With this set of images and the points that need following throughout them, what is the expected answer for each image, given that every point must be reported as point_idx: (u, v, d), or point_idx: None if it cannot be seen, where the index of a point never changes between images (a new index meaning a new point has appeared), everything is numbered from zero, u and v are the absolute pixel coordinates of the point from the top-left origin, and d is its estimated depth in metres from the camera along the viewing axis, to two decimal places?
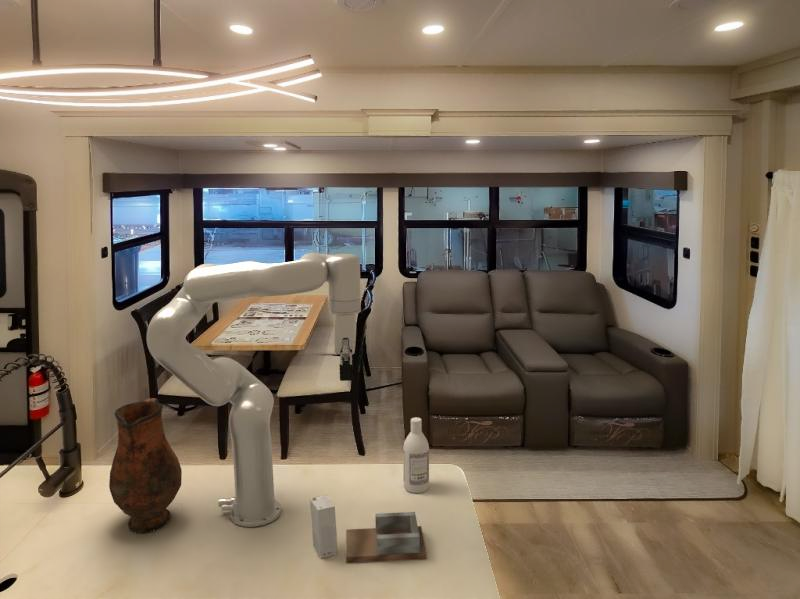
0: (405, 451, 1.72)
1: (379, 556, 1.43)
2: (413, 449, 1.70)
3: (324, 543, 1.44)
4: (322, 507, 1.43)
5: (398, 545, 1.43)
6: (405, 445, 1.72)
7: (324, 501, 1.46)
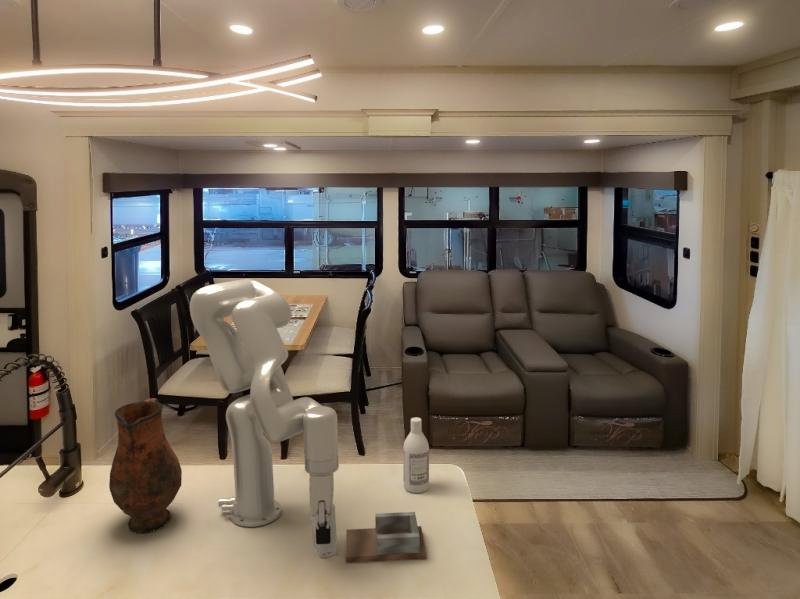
0: (405, 451, 1.72)
1: (379, 556, 1.43)
2: (413, 449, 1.70)
3: None
4: None
5: (398, 545, 1.43)
6: (405, 445, 1.72)
7: None
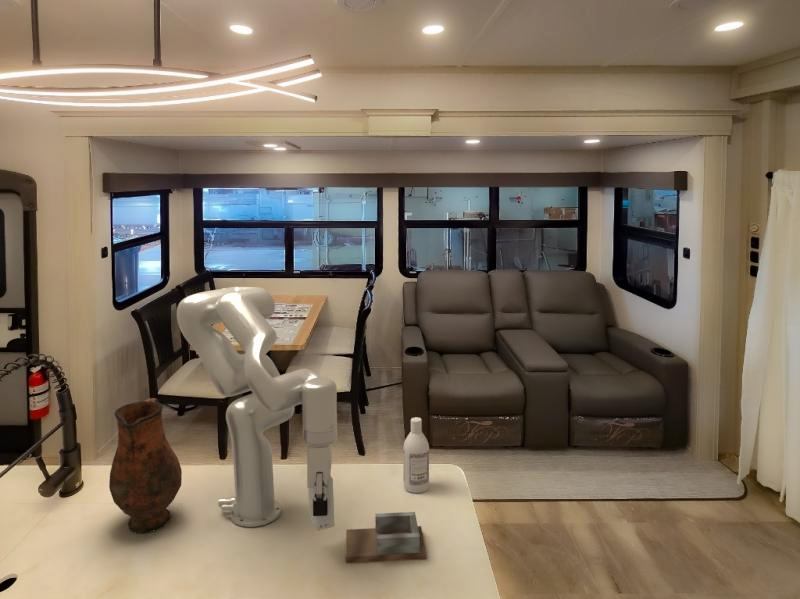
0: (405, 451, 1.72)
1: (379, 556, 1.43)
2: (413, 449, 1.70)
3: None
4: None
5: (398, 545, 1.43)
6: (405, 445, 1.72)
7: (322, 474, 1.44)
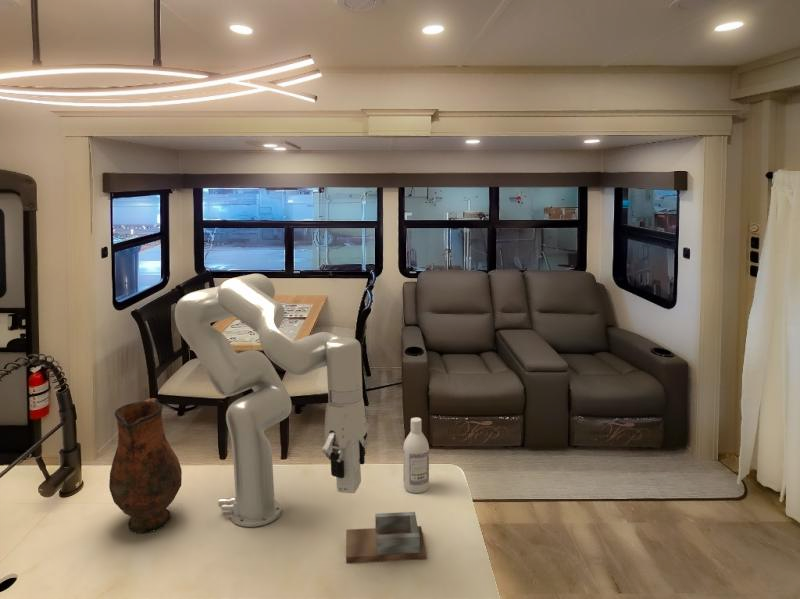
0: (405, 451, 1.72)
1: (379, 556, 1.43)
2: (413, 449, 1.70)
3: None
4: None
5: (398, 545, 1.43)
6: (405, 445, 1.72)
7: None
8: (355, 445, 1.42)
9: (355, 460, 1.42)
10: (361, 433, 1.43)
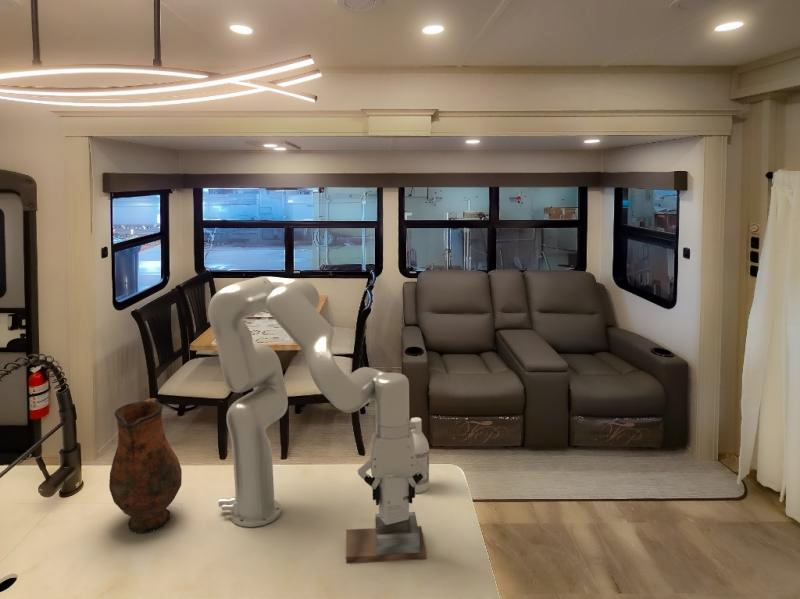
0: None
1: (379, 556, 1.43)
2: None
3: (380, 504, 1.46)
4: None
5: (398, 545, 1.43)
6: None
7: None
8: (396, 481, 1.44)
9: (393, 494, 1.44)
10: (405, 472, 1.43)
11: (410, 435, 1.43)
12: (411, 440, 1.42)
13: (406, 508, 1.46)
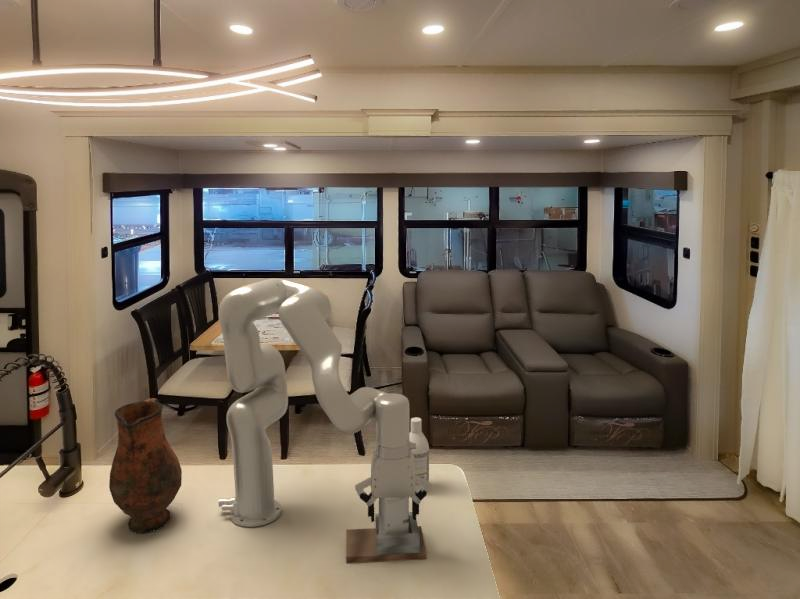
0: None
1: (379, 556, 1.43)
2: (413, 449, 1.70)
3: (380, 526, 1.48)
4: None
5: (398, 545, 1.43)
6: None
7: None
8: (396, 504, 1.45)
9: (392, 518, 1.45)
10: (405, 492, 1.44)
11: (410, 455, 1.44)
12: (411, 460, 1.43)
13: (406, 531, 1.47)
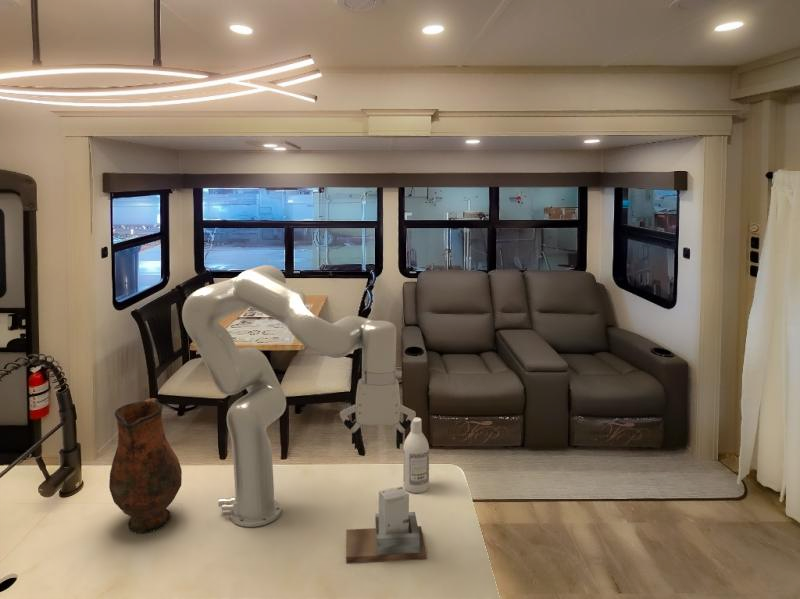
0: (405, 451, 1.72)
1: (379, 556, 1.43)
2: (413, 449, 1.70)
3: (380, 526, 1.48)
4: (383, 492, 1.46)
5: (398, 545, 1.43)
6: (405, 445, 1.72)
7: (393, 493, 1.46)
8: (396, 504, 1.45)
9: (392, 518, 1.45)
10: (389, 419, 1.44)
11: (395, 383, 1.44)
12: (396, 388, 1.43)
13: (406, 531, 1.47)
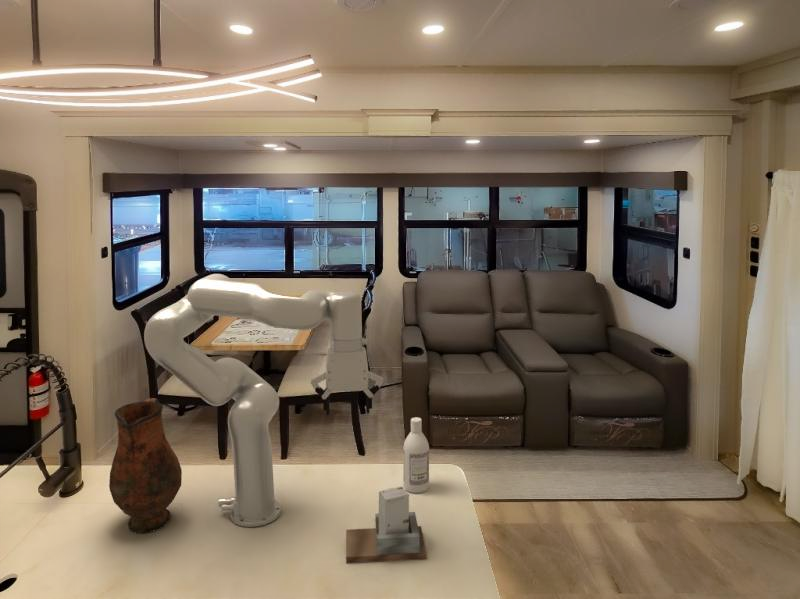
0: (405, 451, 1.72)
1: (379, 556, 1.43)
2: (413, 449, 1.70)
3: (380, 526, 1.48)
4: (383, 492, 1.46)
5: (398, 545, 1.43)
6: (405, 445, 1.72)
7: (393, 493, 1.46)
8: (396, 504, 1.45)
9: (392, 518, 1.45)
10: (357, 385, 1.52)
11: (363, 350, 1.51)
12: (363, 354, 1.51)
13: (406, 531, 1.47)
